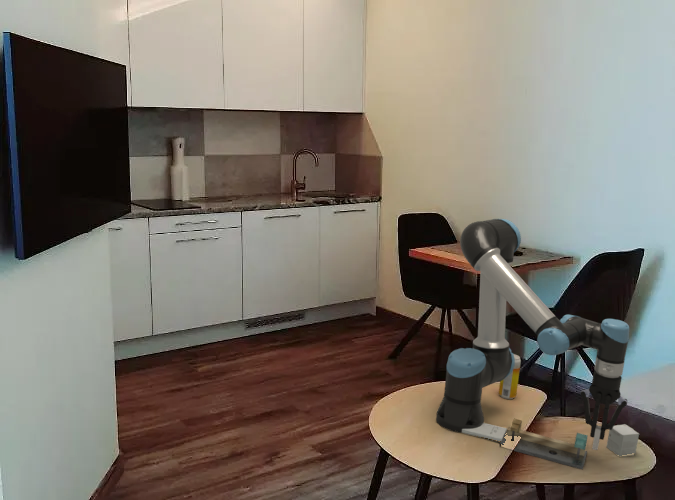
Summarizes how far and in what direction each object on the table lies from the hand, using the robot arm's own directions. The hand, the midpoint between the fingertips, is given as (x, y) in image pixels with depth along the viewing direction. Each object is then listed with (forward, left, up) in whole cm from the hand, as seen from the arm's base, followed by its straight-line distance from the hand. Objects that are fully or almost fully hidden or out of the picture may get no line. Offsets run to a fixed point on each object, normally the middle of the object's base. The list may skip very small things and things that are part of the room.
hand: (595, 447), depth 203 cm
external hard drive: (-32, -2, -4) cm, 33 cm away
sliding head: (-4, -1, -3) cm, 5 cm away
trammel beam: (-14, -2, -3) cm, 15 cm away
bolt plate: (-14, -3, -4) cm, 15 cm away
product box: (+7, +10, -4) cm, 13 cm away
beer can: (-32, +30, -4) cm, 44 cm away
